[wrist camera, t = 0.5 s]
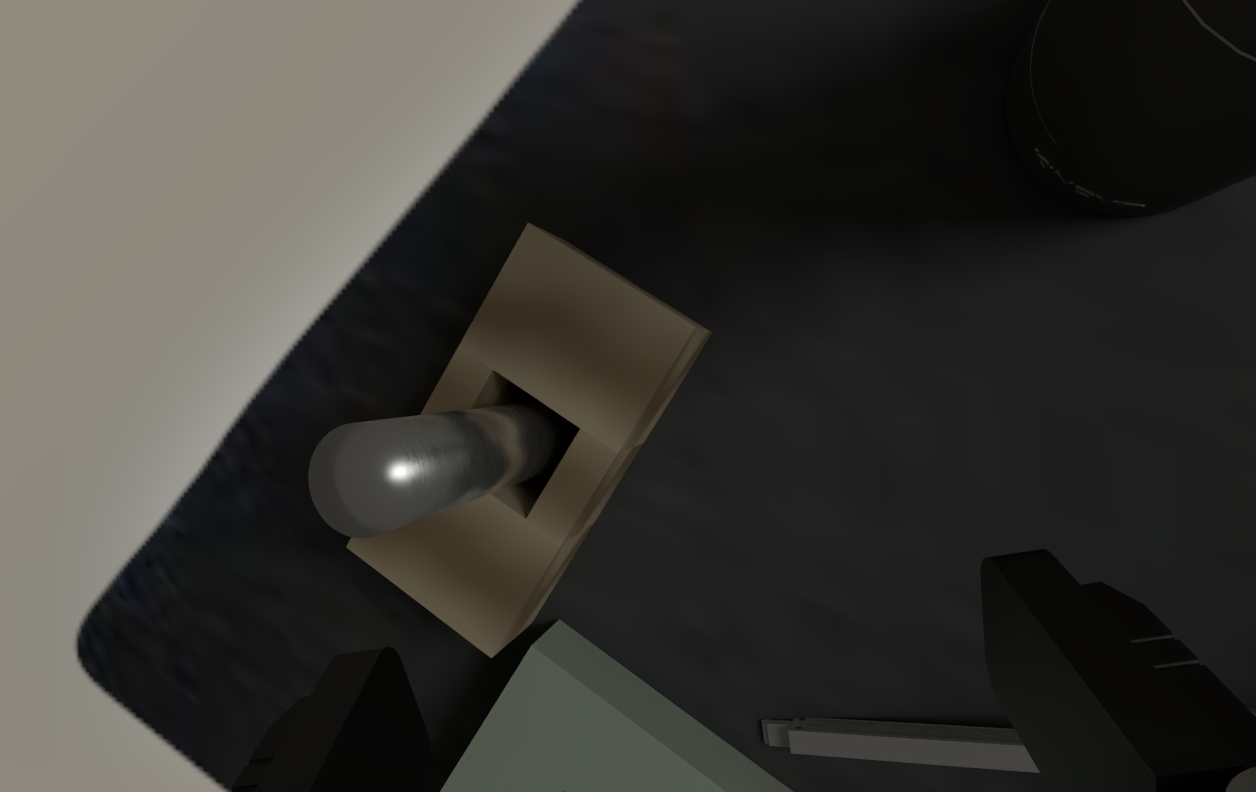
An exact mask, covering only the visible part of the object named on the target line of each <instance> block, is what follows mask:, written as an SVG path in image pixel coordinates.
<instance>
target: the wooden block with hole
mask: <svg viewBox="0 0 1256 792" xmlns="http://www.w3.org/2000/svg"><path fill="white" fill-rule="evenodd" d="M711 334H712V331H710V330H709V329H707V328H705V327H704V326H702V325H701V324H699V323H697V322H696V321H694V320H693V319H691V318H689V317H688V316H686V315H684V314H683V313H681V312H680V311H678V310H676V309H675V308H673V307H672V306H670V305H668V304H667V303H665V302H664V301H662V300H660V299H659V298H657V297H655V296H654V295H652V294H651V293H649V292H647V291H646V290H644V289H643V288H641V287H639V286H638V285H636V284H635V283H633V282H631V281H630V280H628V279H626V278H625V277H623V276H622V275H620V274H618V273H617V272H615V271H614V270H612V269H610V268H609V267H607V266H606V265H604V264H602V263H601V262H599V261H597V260H596V259H594V258H593V257H591V256H589V255H588V254H586V253H585V252H583V251H581V250H580V249H578V248H576V247H575V246H573V245H572V244H570V243H568V242H567V241H565V240H563V239H561V238H559V237H557V236H555V235H553V234H551V233H549V232H547V231H545V230H543V229H540V228H538V227H536V226H534V225H532V224H530V223H527V225H526V227H525V229H524V231H523V232H522V234H521V236H520V238H519V240H518V241H517V243H516V245H515V247H514V248H513V250H512V252H511V254H510V256H509V257H508V259H507V261H506V263H505V264H504V266H503V268H502V270H501V272H500V273H499V275H498V277H497V279H496V281H495V282H494V284H493V286H492V288H491V289H490V291H489V293H488V295H487V297H486V298H485V300H484V302H483V304H482V305H481V307H480V309H479V311H478V313H477V314H476V316H475V318H474V320H473V322H472V323H471V325H470V327H469V329H468V330H467V332H466V334H465V336H464V338H463V339H462V341H461V343H460V345H459V346H458V348H457V350H456V352H455V354H454V355H453V357H452V359H451V361H450V363H449V364H448V366H447V368H446V370H445V371H444V373H443V375H442V377H441V379H440V380H439V382H438V384H437V386H436V387H435V389H434V391H433V393H432V395H431V396H430V398H429V400H428V402H427V404H426V405H425V407H424V409H423V411H422V412H421V414H420V415H425V414H434V413H442V412H451V411H459V410H468V409H476V408H485V407H493V406H502V405H510V404H514V402H515V400H516V399H517V397H518V395H519V393H520V392H521V390H522V389H523V390H524V391H526V392H527V393H529V394H530V395H532V396H533V397H534V398H536V399H537V400H539V401H540V402H542V403H543V404H545V405H546V406H548V407H549V408H551V409H552V410H554V411H555V412H557V413H558V414H560V415H561V416H563V417H564V418H566V419H567V420H569V421H570V422H572V423H573V424H575V425H576V426H577V427H579V428H580V430H579V432H578V433H577V435H576V437H575V438H574V440H573V442H572V443H571V445H570V447H569V448H568V450H567V452H566V453H565V455H564V457H563V458H562V460H561V462H560V463H559V465H558V467H557V468H556V470H555V472H554V473H553V475H552V477H551V478H550V480H549V481H548V483H547V485H546V486H545V488H544V487H542V486H541V485H539V484H538V483H537V482H535V481H534V480H532V479H531V478H530V479H528V480H525V481H522V482H520V483H517V484H514V485H512V486H509V487H506V488H504V489H501V490H498V491H496V492H493V493H490V494H487V495H485V496H482V497H479V498H477V499H474V500H471V501H469V502H466V503H463V504H461V505H458V506H455V507H453V508H450V509H447V510H445V511H442V512H439V513H437V514H434V515H431V516H429V517H426V518H423V519H421V520H418V521H415V522H413V523H410V524H407V525H405V526H402V527H399V528H397V529H394V530H391V531H389V532H386V533H383V534H381V535H378V536H375V537H371V538H354V537H351V539H350V541H349V543H348V544H347V546H346V547H347V548H348V549H349V550H351V551H352V552H353V553H354V554H356V555H357V556H358V557H360V558H361V559H362V560H364V561H365V562H366V563H367V564H369V565H370V566H371V567H373V568H374V569H375V570H377V571H378V572H379V573H381V574H382V575H383V576H384V577H386V578H387V579H388V580H390V581H391V582H392V583H394V584H395V585H396V586H398V587H399V588H400V589H401V590H403V591H404V592H405V593H407V594H408V595H409V596H411V597H412V598H413V599H415V600H416V601H417V602H418V603H420V604H421V605H422V606H424V607H425V608H426V609H428V610H429V611H430V612H431V613H433V614H434V615H435V616H437V617H438V618H439V619H441V620H442V621H443V622H445V623H446V624H447V625H448V626H450V627H451V628H452V629H454V630H455V631H456V632H458V633H459V634H460V635H462V636H463V637H464V638H465V639H467V640H468V641H469V642H471V643H472V644H473V645H475V646H476V647H477V648H479V649H480V650H481V651H482V652H484V653H485V654H486V655H488V656H489V657H490V658H492V657H494V656H495V655H496V654H497V653H498V652H499V651H500V650H502V649H503V648H504V647H505V646H506V645H507V644H509V643H510V642H511V641H512V640H513V639H514V638H516V637H517V636H518V635H519V634H520V633H521V632H522V631H524V630H525V629H526V628H527V627H528V626H529V625H531V624H532V622H533V621H534V619H535V617H536V616H537V614H538V612H539V611H540V609H541V608H542V606H543V604H544V603H545V601H546V600H547V598H548V596H549V595H550V593H551V592H552V590H553V588H554V587H555V585H556V583H557V582H558V580H559V579H560V577H561V575H562V574H563V572H564V571H565V569H566V567H567V566H568V564H569V563H570V561H571V559H572V558H573V556H574V555H575V553H576V551H577V550H578V548H579V546H580V545H581V543H582V542H583V540H584V538H585V537H586V535H587V534H588V532H589V530H590V529H591V527H592V526H593V524H594V522H595V521H596V519H597V518H598V516H599V514H600V513H601V511H602V509H603V508H604V506H605V505H606V503H607V501H608V500H609V498H610V497H611V495H612V493H613V492H614V490H615V489H616V487H617V485H618V484H619V482H620V481H621V479H622V477H623V476H624V474H625V472H626V471H627V469H628V468H629V466H630V464H631V463H632V461H633V460H634V458H635V456H636V455H637V453H638V452H639V450H640V448H641V447H642V445H643V443H644V442H645V440H646V439H647V437H648V435H649V434H650V432H651V431H652V429H653V427H654V426H655V424H656V423H657V421H658V419H659V418H660V416H661V415H662V413H663V411H664V410H665V408H666V406H667V405H668V403H669V402H670V400H671V398H672V397H673V395H674V394H675V392H676V390H677V389H678V387H679V386H680V384H681V382H682V381H683V379H684V378H685V376H686V374H687V373H688V371H689V369H690V368H691V366H692V365H693V363H694V361H695V360H696V358H697V357H698V355H699V353H700V352H701V350H702V349H703V347H704V345H705V344H706V342H707V340H708V339H709V337H710V336H711Z"/></svg>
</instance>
